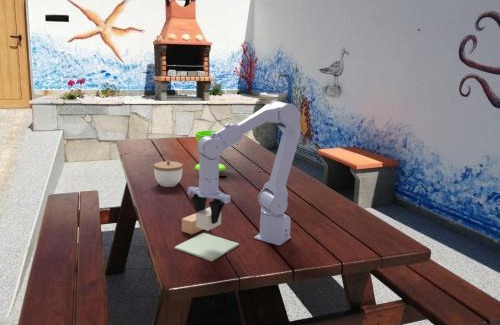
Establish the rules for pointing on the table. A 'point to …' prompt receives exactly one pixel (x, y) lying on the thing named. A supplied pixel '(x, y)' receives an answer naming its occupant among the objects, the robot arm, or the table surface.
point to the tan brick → (190, 224)
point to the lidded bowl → (168, 173)
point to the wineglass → (198, 137)
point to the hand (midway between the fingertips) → (207, 220)
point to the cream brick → (206, 219)
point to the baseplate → (207, 246)
